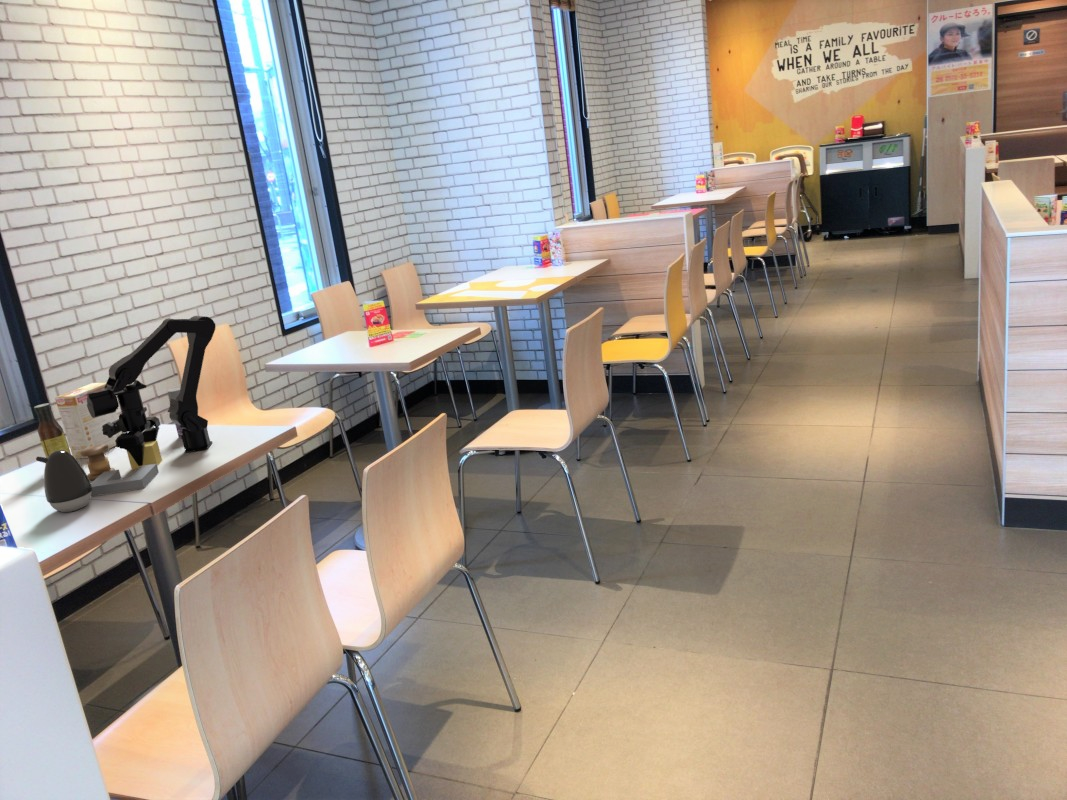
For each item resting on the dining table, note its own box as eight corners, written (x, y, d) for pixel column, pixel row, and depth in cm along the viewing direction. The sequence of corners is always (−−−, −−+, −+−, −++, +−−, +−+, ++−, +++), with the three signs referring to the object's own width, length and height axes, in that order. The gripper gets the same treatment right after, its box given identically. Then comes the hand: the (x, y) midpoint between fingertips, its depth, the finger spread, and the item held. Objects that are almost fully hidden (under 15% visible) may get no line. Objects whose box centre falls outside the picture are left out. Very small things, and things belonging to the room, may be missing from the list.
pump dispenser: (61, 503, 214) (44, 447, 210) (103, 497, 215) (86, 441, 211) (42, 519, 205) (24, 460, 200) (85, 513, 205) (68, 454, 201)
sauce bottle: (80, 466, 244) (61, 401, 238) (62, 474, 238) (42, 408, 233) (63, 466, 246) (44, 401, 240) (45, 474, 240) (25, 408, 235)
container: (197, 434, 261) (185, 388, 257) (182, 439, 258) (170, 392, 254) (190, 432, 265) (178, 386, 261) (176, 437, 261) (164, 390, 257)
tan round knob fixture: (119, 469, 236) (111, 442, 234) (110, 478, 229) (102, 450, 227) (93, 473, 236) (86, 446, 233) (83, 482, 229) (75, 454, 227)
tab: (162, 460, 240) (157, 440, 238) (157, 465, 235) (152, 445, 234) (137, 464, 239) (131, 444, 237) (131, 469, 235) (126, 449, 233)
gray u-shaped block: (158, 472, 229) (156, 463, 228) (144, 488, 217) (141, 479, 217) (106, 480, 228) (103, 471, 227) (88, 496, 216) (86, 487, 216)
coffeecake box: (108, 441, 266) (91, 382, 261) (126, 441, 264) (110, 381, 259) (71, 459, 253) (53, 397, 247) (90, 458, 251) (72, 395, 245)
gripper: (114, 402, 241) (128, 453, 245) (88, 421, 223) (104, 476, 227) (154, 396, 242) (167, 447, 246) (131, 415, 224) (146, 469, 228)
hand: (146, 460), depth 237 cm, fingers open, 9 cm apart
